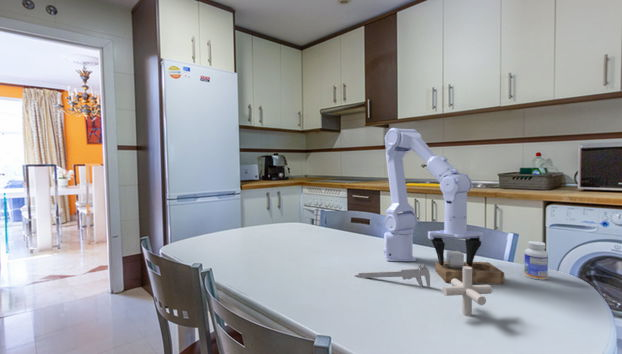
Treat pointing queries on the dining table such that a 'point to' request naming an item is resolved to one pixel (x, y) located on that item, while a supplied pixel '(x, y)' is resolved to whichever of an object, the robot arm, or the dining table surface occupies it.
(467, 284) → the wooden cross jack
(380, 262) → the dining table surface
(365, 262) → the dining table surface
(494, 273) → the socket block
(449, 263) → the square bit
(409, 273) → the caliper
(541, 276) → the pill bottle
